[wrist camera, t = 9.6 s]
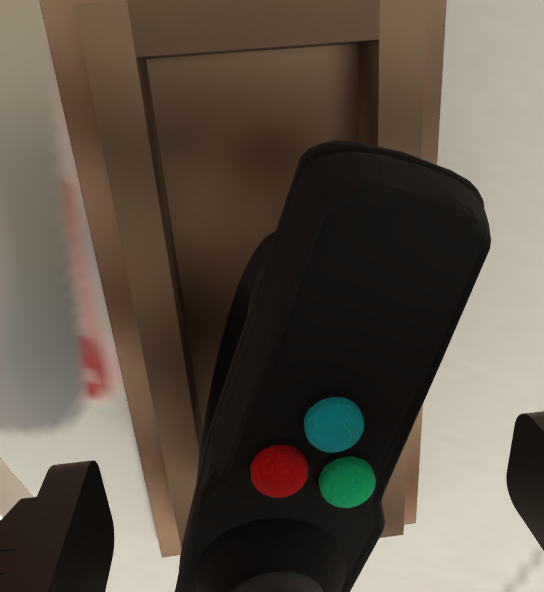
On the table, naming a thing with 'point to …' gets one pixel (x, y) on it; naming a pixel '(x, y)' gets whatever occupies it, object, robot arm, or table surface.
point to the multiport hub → (10, 489)
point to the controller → (328, 368)
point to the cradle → (221, 176)
